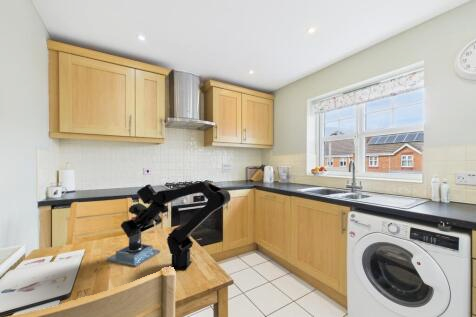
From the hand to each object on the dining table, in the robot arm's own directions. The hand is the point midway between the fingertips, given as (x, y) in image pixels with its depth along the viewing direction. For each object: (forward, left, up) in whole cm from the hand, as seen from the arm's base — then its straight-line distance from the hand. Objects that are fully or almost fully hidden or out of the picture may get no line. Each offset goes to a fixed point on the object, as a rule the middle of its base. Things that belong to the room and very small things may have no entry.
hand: (132, 234), depth 93 cm
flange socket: (-1, 0, -9) cm, 9 cm away
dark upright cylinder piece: (-1, 0, -7) cm, 7 cm away
